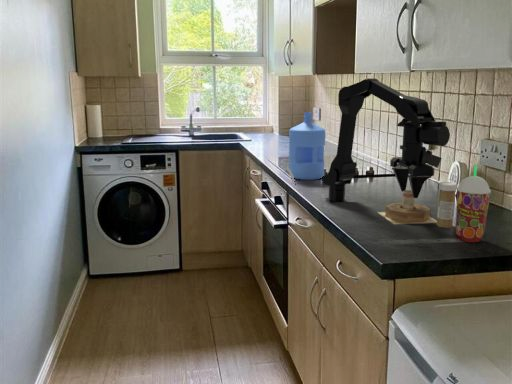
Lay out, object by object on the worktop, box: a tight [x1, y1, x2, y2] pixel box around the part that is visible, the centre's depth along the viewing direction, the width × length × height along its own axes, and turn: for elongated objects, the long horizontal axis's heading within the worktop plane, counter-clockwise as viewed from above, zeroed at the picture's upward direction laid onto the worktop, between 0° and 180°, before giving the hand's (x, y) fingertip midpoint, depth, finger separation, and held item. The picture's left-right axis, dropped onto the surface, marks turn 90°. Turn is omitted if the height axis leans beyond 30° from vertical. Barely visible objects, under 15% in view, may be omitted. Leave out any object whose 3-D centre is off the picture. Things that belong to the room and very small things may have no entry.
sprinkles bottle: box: [436, 181, 458, 229], centre depth 145 cm, size 5×5×14 cm
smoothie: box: [455, 165, 492, 243], centre depth 135 cm, size 8×8×20 cm
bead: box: [384, 202, 431, 223], centre depth 155 cm, size 12×12×3 cm
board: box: [377, 211, 437, 225], centre depth 155 cm, size 14×14×1 cm
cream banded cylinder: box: [402, 189, 415, 210], centre depth 154 cm, size 3×3×8 cm
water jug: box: [288, 111, 326, 181], centre depth 222 cm, size 16×16×28 cm
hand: (409, 194), depth 154 cm, fingers open, 9 cm apart
